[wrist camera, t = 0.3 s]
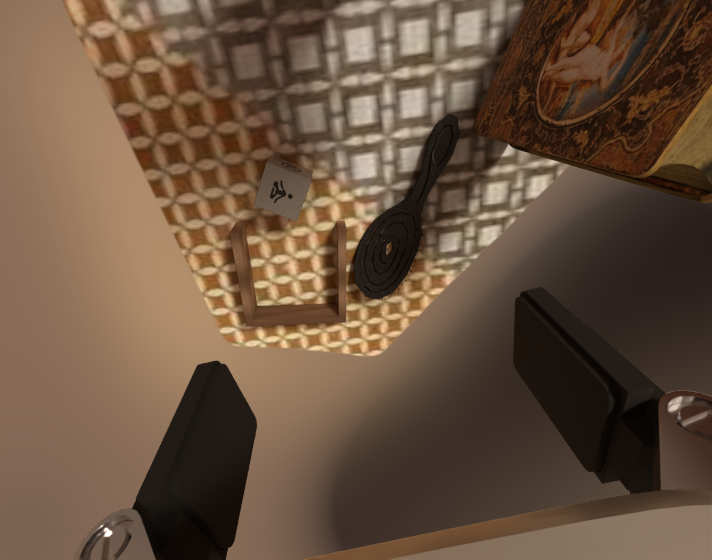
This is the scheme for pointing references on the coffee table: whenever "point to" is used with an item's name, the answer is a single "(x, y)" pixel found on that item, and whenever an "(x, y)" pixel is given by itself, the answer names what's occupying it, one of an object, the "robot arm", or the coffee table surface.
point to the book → (611, 90)
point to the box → (286, 312)
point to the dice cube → (283, 187)
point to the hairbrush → (388, 268)
